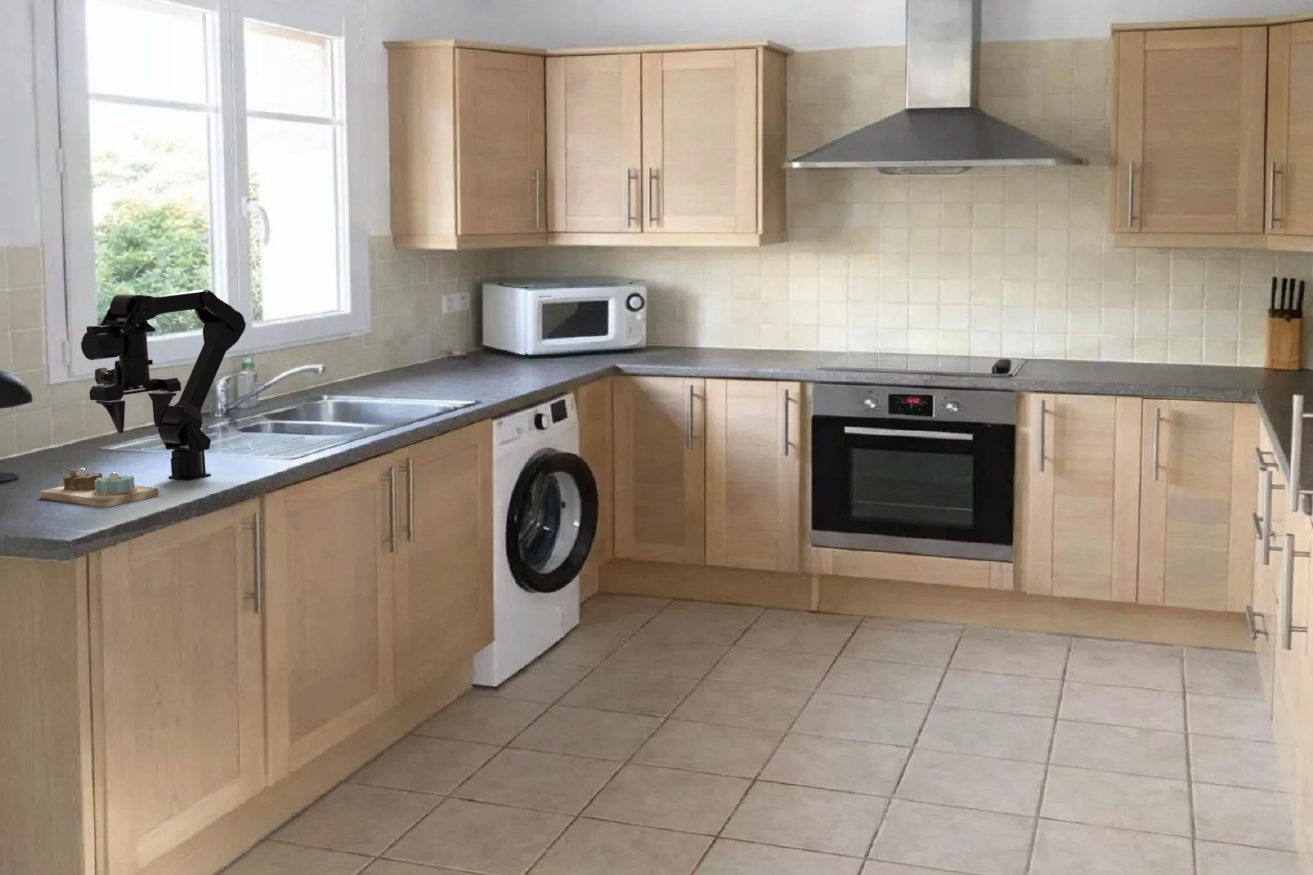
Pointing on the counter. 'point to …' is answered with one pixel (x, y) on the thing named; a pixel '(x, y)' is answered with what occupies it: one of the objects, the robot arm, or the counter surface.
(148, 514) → the counter surface
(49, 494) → the gear board
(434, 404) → the counter surface
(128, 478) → the loose gear
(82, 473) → the steel pegs
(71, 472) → the gear
